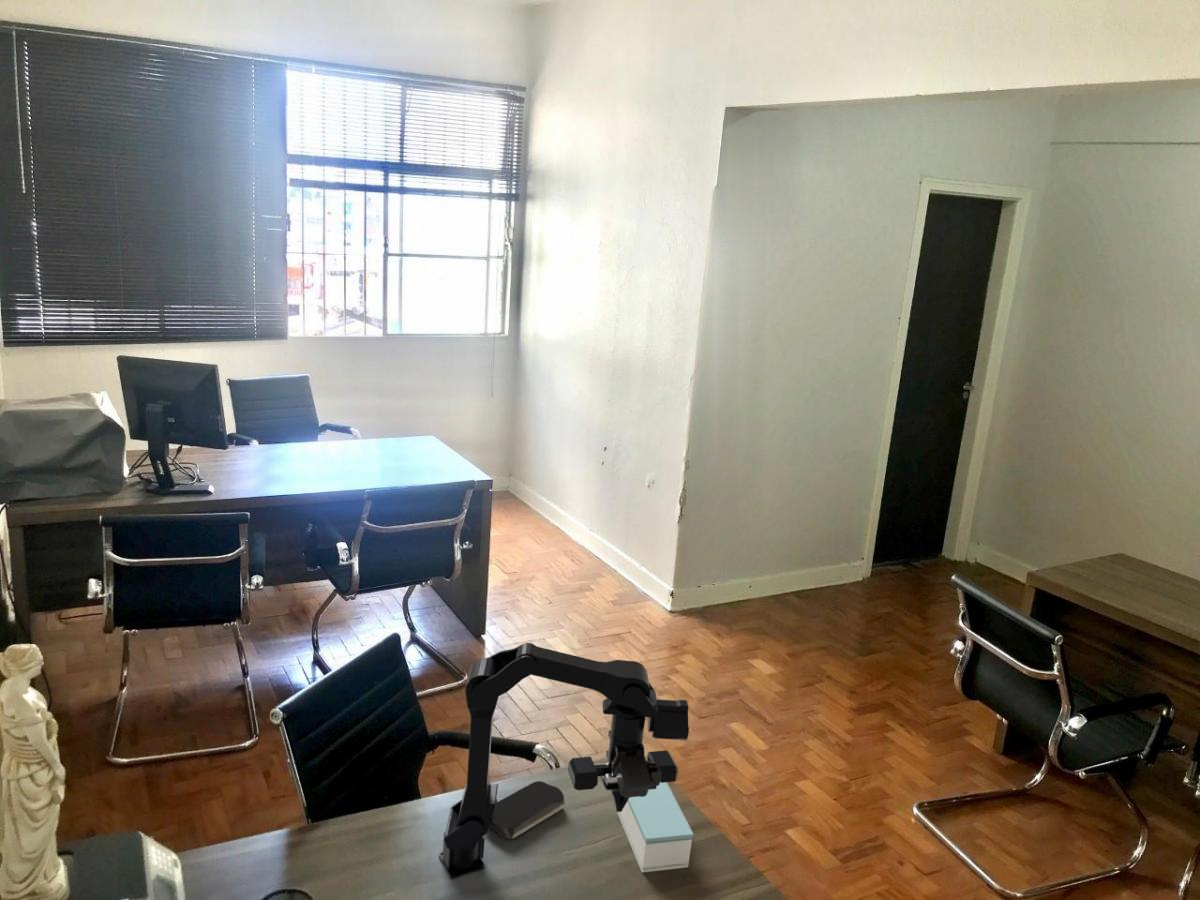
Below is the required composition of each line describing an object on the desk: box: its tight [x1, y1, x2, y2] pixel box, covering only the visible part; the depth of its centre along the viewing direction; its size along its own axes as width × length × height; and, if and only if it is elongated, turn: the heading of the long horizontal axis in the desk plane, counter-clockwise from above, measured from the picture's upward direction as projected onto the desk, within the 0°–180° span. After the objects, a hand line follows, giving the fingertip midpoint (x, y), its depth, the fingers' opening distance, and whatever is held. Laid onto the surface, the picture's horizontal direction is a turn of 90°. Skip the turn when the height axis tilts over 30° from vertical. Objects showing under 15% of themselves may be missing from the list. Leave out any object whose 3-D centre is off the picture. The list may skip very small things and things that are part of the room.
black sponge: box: [490, 780, 565, 840], centre depth 174 cm, size 16×8×4 cm, turn 137°
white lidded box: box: [616, 801, 693, 873], centre depth 172 cm, size 9×18×6 cm, turn 15°
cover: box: [628, 782, 694, 843], centre depth 171 cm, size 9×18×1 cm, turn 15°
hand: (618, 810), depth 159 cm, fingers closed
